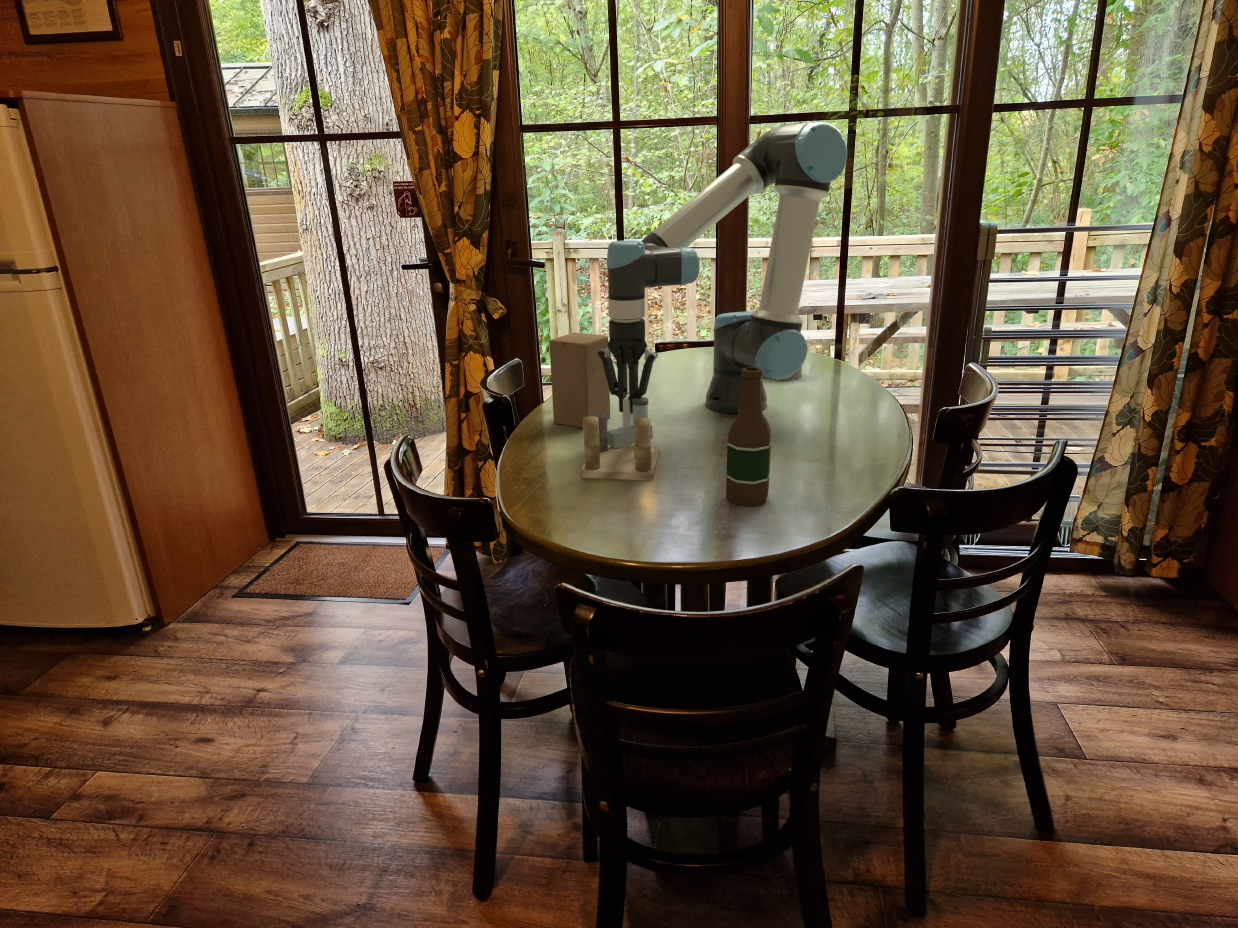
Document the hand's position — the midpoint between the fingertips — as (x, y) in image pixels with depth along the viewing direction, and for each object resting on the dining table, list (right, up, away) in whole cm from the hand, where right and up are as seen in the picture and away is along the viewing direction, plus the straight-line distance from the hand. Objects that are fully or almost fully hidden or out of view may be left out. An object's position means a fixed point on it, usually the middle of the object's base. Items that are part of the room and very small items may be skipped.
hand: (628, 426), depth 171 cm
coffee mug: (+43, +17, +52) cm, 69 cm away
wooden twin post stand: (-2, -9, -13) cm, 15 cm away
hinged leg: (0, -3, -4) cm, 5 cm away
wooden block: (-11, +2, +16) cm, 20 cm away
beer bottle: (+21, -15, -29) cm, 39 cm away
